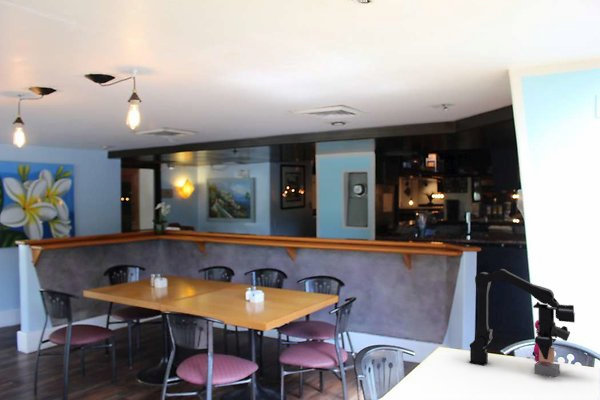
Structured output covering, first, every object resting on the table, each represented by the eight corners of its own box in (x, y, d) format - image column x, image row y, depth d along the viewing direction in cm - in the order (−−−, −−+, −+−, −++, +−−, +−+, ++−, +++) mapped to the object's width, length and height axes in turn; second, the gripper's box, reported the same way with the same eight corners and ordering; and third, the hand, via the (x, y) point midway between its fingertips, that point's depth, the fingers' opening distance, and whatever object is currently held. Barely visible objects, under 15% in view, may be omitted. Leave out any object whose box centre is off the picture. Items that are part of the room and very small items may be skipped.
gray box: (534, 374, 194) (534, 364, 194) (538, 370, 199) (538, 360, 199) (556, 378, 189) (556, 368, 189) (559, 374, 194) (559, 364, 194)
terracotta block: (539, 360, 193) (539, 348, 194) (540, 357, 198) (540, 345, 198) (552, 362, 191) (552, 350, 191) (554, 359, 195) (554, 347, 195)
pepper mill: (555, 363, 208) (554, 317, 209) (538, 363, 208) (537, 317, 209) (546, 359, 215) (546, 314, 216) (530, 358, 215) (530, 314, 216)
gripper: (566, 326, 183) (566, 366, 182) (570, 318, 198) (571, 356, 197) (534, 322, 189) (534, 361, 188) (541, 315, 204) (541, 351, 204)
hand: (546, 357), depth 194 cm, fingers closed on terracotta block, 5 cm apart
